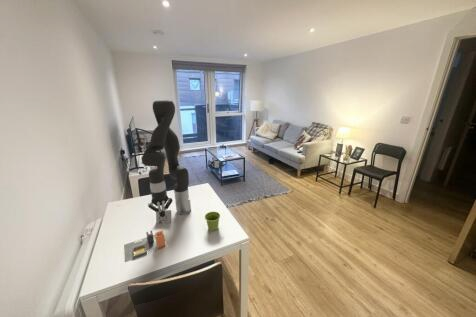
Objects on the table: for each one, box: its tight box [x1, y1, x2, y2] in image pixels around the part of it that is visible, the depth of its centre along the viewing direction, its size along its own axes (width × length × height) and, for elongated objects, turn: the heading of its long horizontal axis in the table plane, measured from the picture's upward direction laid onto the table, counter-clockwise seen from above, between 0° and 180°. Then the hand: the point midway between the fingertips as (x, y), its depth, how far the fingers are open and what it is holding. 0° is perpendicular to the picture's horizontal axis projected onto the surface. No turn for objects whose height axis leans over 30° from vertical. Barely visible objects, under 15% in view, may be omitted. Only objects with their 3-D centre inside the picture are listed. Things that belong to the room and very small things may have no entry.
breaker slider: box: [145, 230, 154, 243], centre depth 110 cm, size 3×4×5 cm
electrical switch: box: [155, 209, 172, 224], centre depth 126 cm, size 9×5×9 cm, turn 90°
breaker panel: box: [123, 234, 168, 263], centre depth 107 cm, size 20×13×3 cm, turn 120°
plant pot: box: [204, 211, 221, 232], centre depth 121 cm, size 9×9×9 cm
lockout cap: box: [154, 230, 167, 248], centre depth 106 cm, size 4×4×8 cm
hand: (162, 216), depth 110 cm, fingers closed
